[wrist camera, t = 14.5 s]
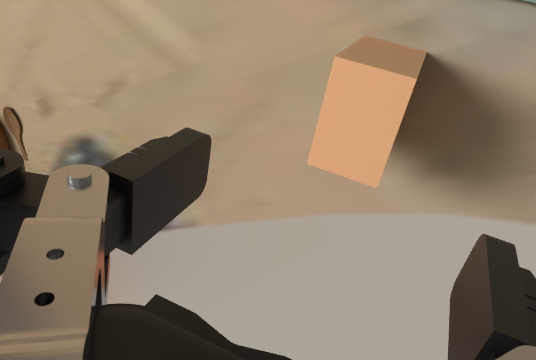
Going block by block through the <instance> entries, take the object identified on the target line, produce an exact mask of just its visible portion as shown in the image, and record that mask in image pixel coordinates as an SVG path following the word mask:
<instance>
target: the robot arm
mask: <svg viewBox="0 0 536 360" xmlns="http://www.w3.org/2000/svg"><path fill="white" fill-rule="evenodd" d="M210 150H211V137H210V136H209V135H207V134H205V133H202V132H199V131H196V130H193V129H191V128H184V129H182V130H181V131H179V132H177V133H175V134H174V135H172V136H170V137H162V138H158V139H153V140H150V141H148V142H146V143H145V144H143V145H141V146H140V147H139V148H138V147H137V148H135V149H134V150H132V151H130V153H126V154H124V155H123V156H121V157H119V158H117V159H115V160H113V161H112V162H110V163H108V164H106V165H104V166H102V167H100V168H99V167H96V166H92V165H84V164H77V165H69V166H65V167H62V168H59V169H57V170H55V171H54V172H52V173H51V175H50V176H47V175H42V174H36V173H30V172H25V168H24V160H23V157H22V156H21V155H20V154H19V153H17V152H15V151H11V150H7V149H0V275H1V274H3V273H4V275H3V278H2V280H1V283H0V360H292V359H290V358H287V357H285V356H282V355H277V354H273V353H269V352H265V351H260V350H256V349H252V348H248V347H244V346H239V345H236V344H233V343H232V342H230V341H229V340H227V339H226V338H225V337H224V336H223V335H221V334H220V333H219V332H218V331H217V330H215V329H214V328H213V327H212V326H210V325H209V324H208V323H207V322H206V321H204V320H203V319H201V317H199V316H198V315H197V314H196V313H194V312H192V311H190V310H188V309H186V308H184V307H181V306H179V305H177V304H175V303H173V302H171V301H169V300H167V299H165V298H163V297H161V296H159V295H155V296H154V297H153V298H152V299H151V300H150V301H149V302H148V303H147V304H146V305H145V306H142V305H135V304H107V292H108V280H109V269H110V252H111V251H113V250H114V249H115V248H118V249H120V250H122V251H124V252H127V253H129V254H131V255H132V254H133V253H134V252H135V251H137V250H138V249H139V248H140V247H141V246H142V245H144V244H145V243H146V242H147V241H148V240H150V239H151V238H152V237H153V236H154V235H155V234H157V233H158V232H159V231H160V230H161V229H162V228H163V227H165V226H166V225H167V224H168V223H169V222H170V221H172V220H173V219H174V218H175V217H176V216H177V215H179V214H180V213H181V212H182V211H183V210H184V209H186V208H187V207H188V206H189V205H190V204H191V203H193V202H194V201H195V200H196V199H197V198H198V197H199V196H200V195H201V193H202V192H203V190H204V188H205V185H206V181H207V174H208V166H209V158H210ZM448 344H449V345H448V360H536V278H535V277H534V275H533V274H532V273H531V271H529V270H527V269H524V268H521V267H519V264H518V259H517V254H516V249H515V245H514V244H511V243H508V242H505V241H503V240H500V239H497V238H494V237H491V236H489V235H486V234H482V235H481V236H480V237H479V239H478V240H477V242H476V244H475V246H474V247H473V249H472V251H471V253H470V255H469V257H468V258H467V260H466V262H465V264H464V266H463V268H462V269H461V271H460V273H459V275H458V277H457V279H456V281H455V283H454V286H453V289H452V293H451V297H450V317H449V343H448Z"/></svg>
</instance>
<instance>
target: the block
mask: <svg viewBox="0 0 536 360" xmlns="http://www.w3.org/2000/svg"><path fill="white" fill-rule="evenodd" d="M426 53H427V52H425V51H421V50H417V49H413V48H410V47H406V46H402V45H398V44H394V43H390V42H386V41H382V40H379V39H375V38H371V37H367V36H364V37H362V38H361V39H359V40H358V41H356V42H355V43H353V44H352V45H350V46H349V47H348V48H346V49H345V50H343V51H342V52H340V53H339V54H337V55H336V56H335V57H334V61H333V65H332V69H331V73H330V76H329V80H328V84H327V88H326V92H325V96H324V100H323V104H322V107H321V111H320V115H319V119H318V123H317V127H316V131H315V135H314V138H313V142H312V146H311V150H310V154H309V158H308V162H307V164H309V165H312V166H315V167H318V168H320V169H323V170H326V171H329V172H332V173H335V174H338V175H341V176H344V177H346V178H349V179H352V180H355V181H358V182H361V183H364V184H367V185H369V186H372V187H375V188H377V187H378V184H379V182H380V179H381V176H382V174H383V171H384V168H385V165H386V163H387V160H388V157H389V155H390V152H391V149H392V146H393V144H394V141H395V138H396V136H397V133H398V130H399V127H400V125H401V122H402V119H403V116H404V114H405V111H406V108H407V105H408V103H409V100H410V97H411V94H412V92H413V89H414V86H415V83H416V81H417V78H418V75H419V73H420V70H421V67H422V64H423V62H424V59H425V56H426Z"/></svg>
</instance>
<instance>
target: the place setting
mask: <svg viewBox="0 0 536 360" xmlns="http://www.w3.org/2000/svg"><path fill="white" fill-rule="evenodd" d="M3 117H4V120H5V123H6V125H7V126H8V128H9V129H10V131H11V132H12V133H13V135H14V136H15V138H16V140H17V142H18V144H19V146H20V149H21V151H22V154H23V156H24V159H25V160H26V161H28V157H27V154H26V152H25V149H24V146H23V144H22V140H21V132H22V131H21V125H20V122H19V120H18V118H17V116H16V115H15V113H14V112H13V111H12V110H11V109H10V108H9V107H4V108H3ZM0 149H7V150H10V149H9V145H8V141H7V138H6V136H5V133H4V131H3V129H2V127H1V125H0Z"/></svg>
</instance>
